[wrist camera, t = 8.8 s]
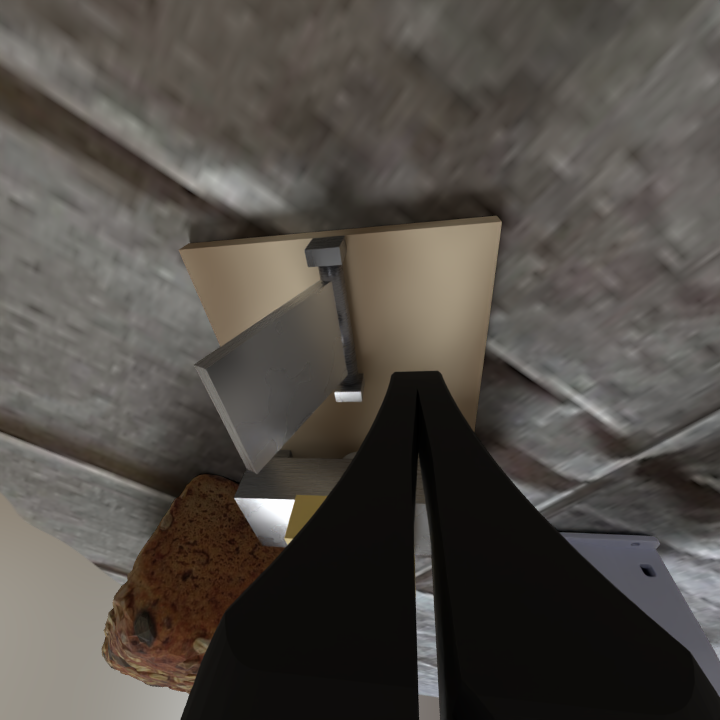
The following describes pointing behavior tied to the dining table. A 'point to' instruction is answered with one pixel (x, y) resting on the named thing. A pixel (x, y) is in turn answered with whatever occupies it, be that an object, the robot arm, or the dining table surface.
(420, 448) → the robot arm
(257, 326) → the plate
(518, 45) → the dining table surface
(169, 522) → the bread
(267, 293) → the base board
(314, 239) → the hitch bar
